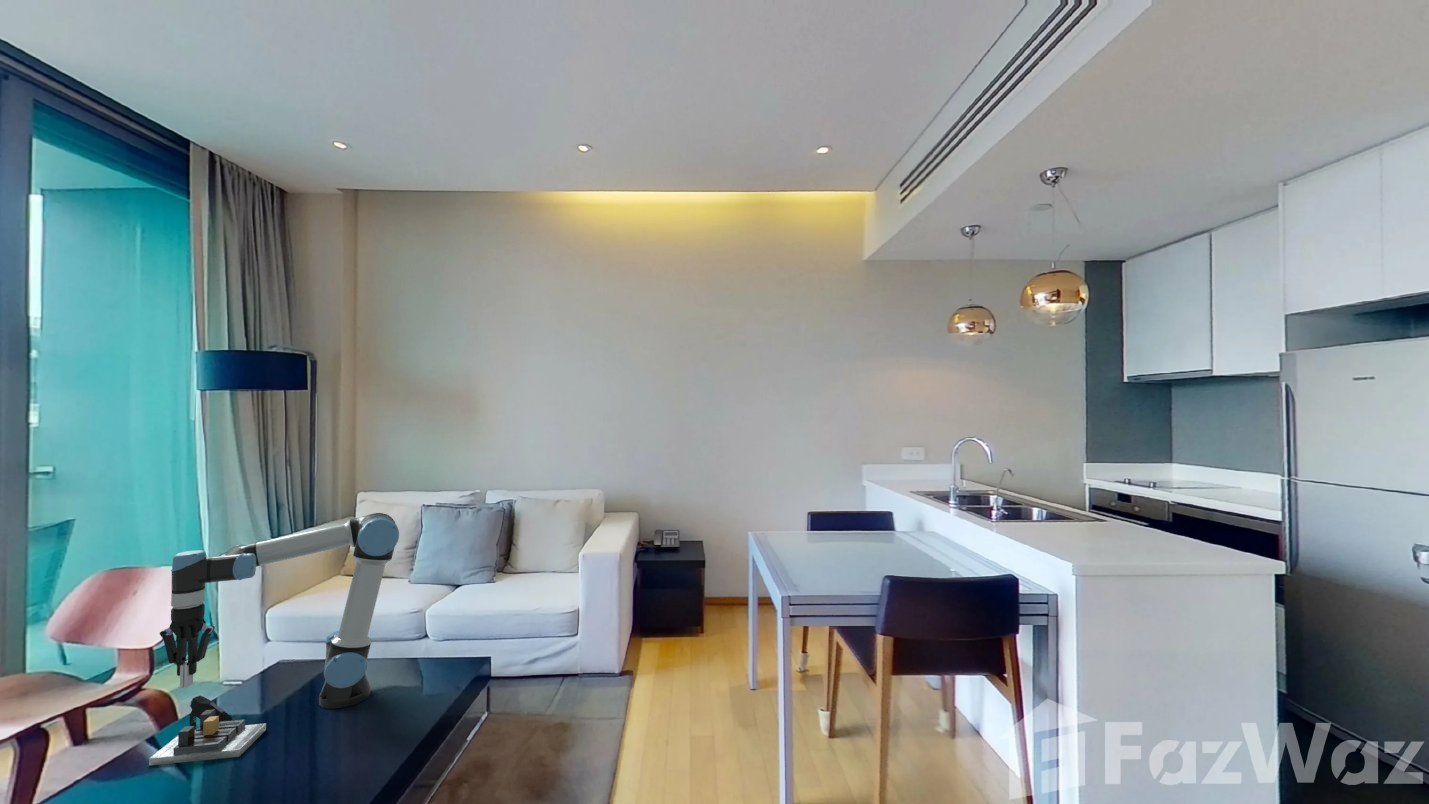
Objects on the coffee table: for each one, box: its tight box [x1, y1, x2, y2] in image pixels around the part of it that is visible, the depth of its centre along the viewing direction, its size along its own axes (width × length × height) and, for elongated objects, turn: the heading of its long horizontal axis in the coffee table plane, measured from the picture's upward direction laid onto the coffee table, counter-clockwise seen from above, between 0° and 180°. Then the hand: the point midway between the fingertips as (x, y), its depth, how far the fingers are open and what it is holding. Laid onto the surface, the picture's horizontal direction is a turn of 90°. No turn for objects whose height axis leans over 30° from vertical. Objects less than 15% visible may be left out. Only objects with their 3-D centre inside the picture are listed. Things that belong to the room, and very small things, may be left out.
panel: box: [148, 709, 267, 766], centre depth 179 cm, size 22×15×8 cm
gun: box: [189, 695, 234, 726], centre depth 190 cm, size 3×16×10 cm, turn 78°
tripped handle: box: [203, 716, 219, 735], centre depth 179 cm, size 2×3×4 cm
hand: (186, 685), depth 178 cm, fingers closed
